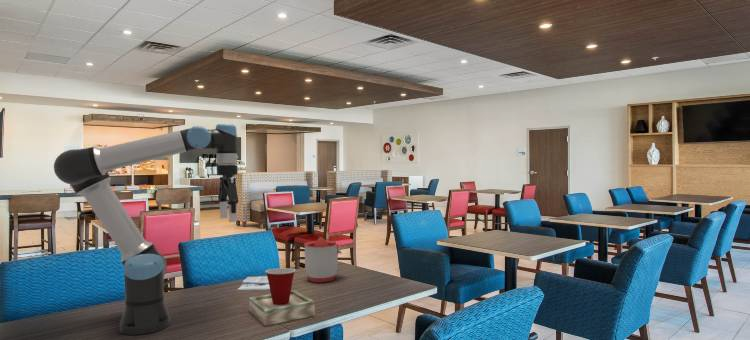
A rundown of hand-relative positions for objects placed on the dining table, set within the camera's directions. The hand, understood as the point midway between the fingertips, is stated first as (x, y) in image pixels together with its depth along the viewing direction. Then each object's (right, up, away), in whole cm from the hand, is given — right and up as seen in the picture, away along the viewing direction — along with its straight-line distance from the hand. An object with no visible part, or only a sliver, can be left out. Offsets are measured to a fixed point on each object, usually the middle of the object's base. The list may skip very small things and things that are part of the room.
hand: (228, 220), depth 175 cm
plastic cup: (+22, -29, -10) cm, 38 cm away
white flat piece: (+6, -33, +30) cm, 45 cm away
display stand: (+23, -33, -10) cm, 41 cm away
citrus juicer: (+33, -32, +36) cm, 58 cm away
